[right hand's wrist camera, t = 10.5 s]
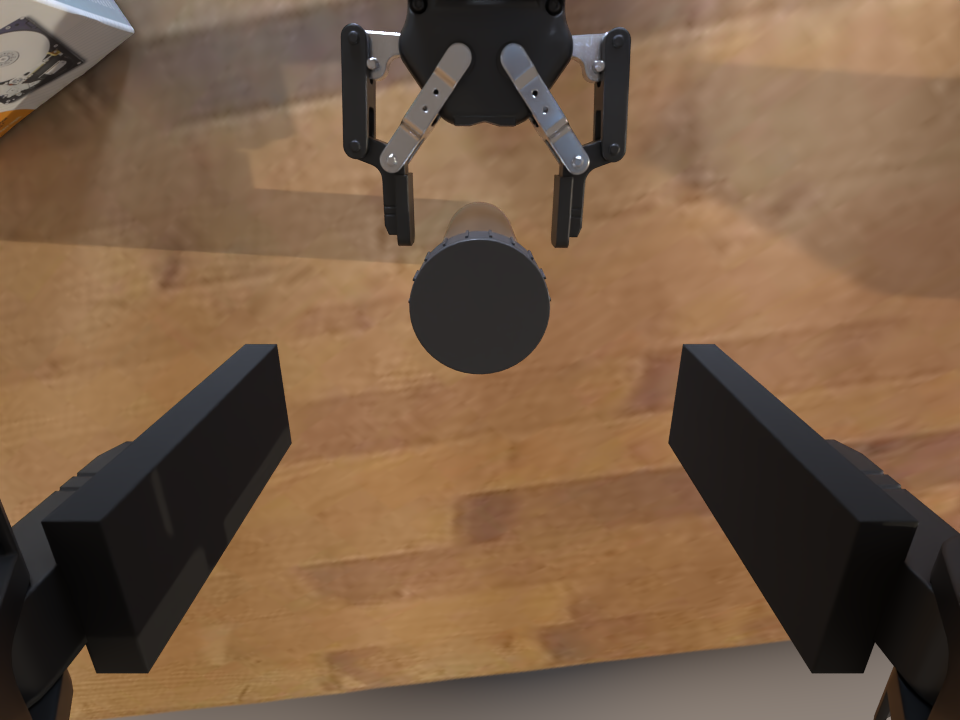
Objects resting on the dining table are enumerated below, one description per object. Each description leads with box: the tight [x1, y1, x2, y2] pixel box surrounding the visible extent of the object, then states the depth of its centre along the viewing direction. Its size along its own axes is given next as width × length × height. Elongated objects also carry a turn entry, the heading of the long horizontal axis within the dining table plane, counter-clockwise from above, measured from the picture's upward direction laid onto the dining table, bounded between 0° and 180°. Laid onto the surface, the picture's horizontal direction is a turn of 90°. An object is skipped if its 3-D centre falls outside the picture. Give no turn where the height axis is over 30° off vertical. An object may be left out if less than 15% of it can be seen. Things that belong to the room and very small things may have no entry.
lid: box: [409, 230, 551, 374], centre depth 21 cm, size 5×5×2 cm
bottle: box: [443, 202, 517, 242], centre depth 28 cm, size 4×4×17 cm
